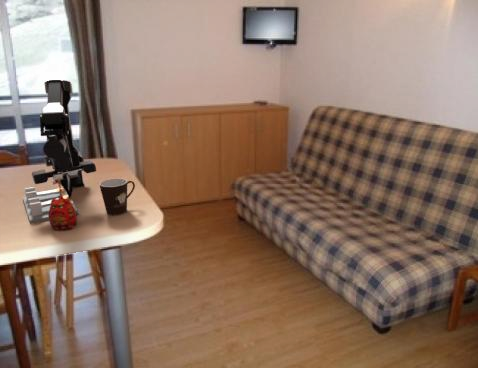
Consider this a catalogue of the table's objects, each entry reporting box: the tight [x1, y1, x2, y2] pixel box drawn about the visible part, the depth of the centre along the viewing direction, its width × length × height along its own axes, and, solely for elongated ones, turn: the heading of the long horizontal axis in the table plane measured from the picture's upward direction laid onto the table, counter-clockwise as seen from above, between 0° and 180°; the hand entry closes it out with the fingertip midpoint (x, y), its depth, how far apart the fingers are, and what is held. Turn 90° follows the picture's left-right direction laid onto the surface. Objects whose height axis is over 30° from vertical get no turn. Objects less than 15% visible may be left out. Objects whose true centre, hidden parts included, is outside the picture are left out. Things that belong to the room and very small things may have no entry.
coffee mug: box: [99, 177, 136, 216], centre depth 131 cm, size 12×9×10 cm
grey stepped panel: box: [22, 186, 79, 224], centre depth 136 cm, size 14×24×5 cm, turn 32°
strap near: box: [41, 195, 73, 208], centre depth 131 cm, size 11×4×1 cm, turn 122°
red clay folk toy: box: [48, 177, 78, 231], centre depth 119 cm, size 8×7×15 cm
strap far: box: [36, 186, 66, 197], centre depth 141 cm, size 11×4×1 cm, turn 122°
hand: (70, 196), depth 133 cm, fingers closed, pressing on strap near
